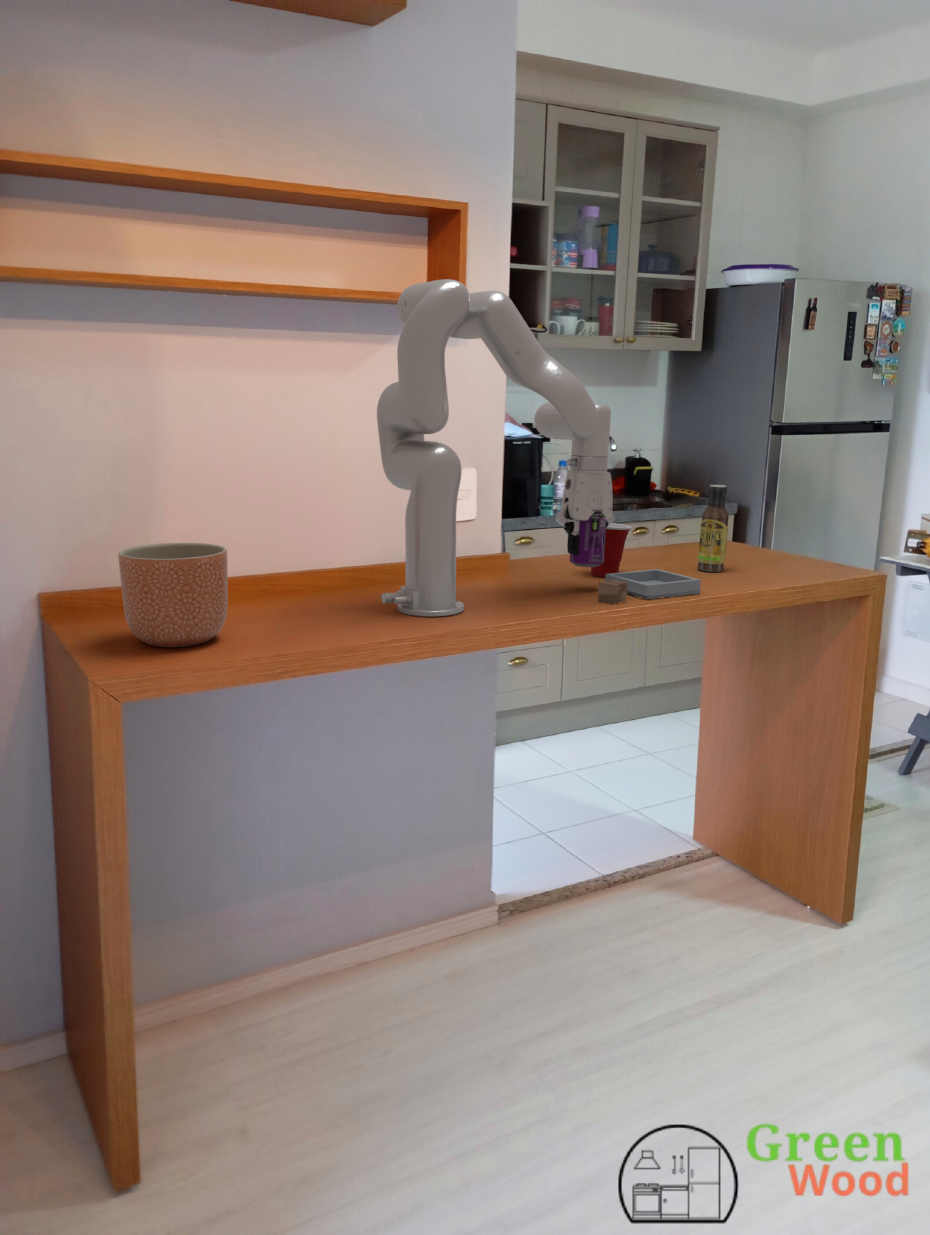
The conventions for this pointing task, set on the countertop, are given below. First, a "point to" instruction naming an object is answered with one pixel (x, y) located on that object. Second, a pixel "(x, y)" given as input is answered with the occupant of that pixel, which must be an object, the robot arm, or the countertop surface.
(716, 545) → the sauce bottle
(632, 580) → the tray
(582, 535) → the beverage can
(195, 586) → the planter
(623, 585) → the walnut block
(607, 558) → the plastic cup
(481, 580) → the countertop surface
